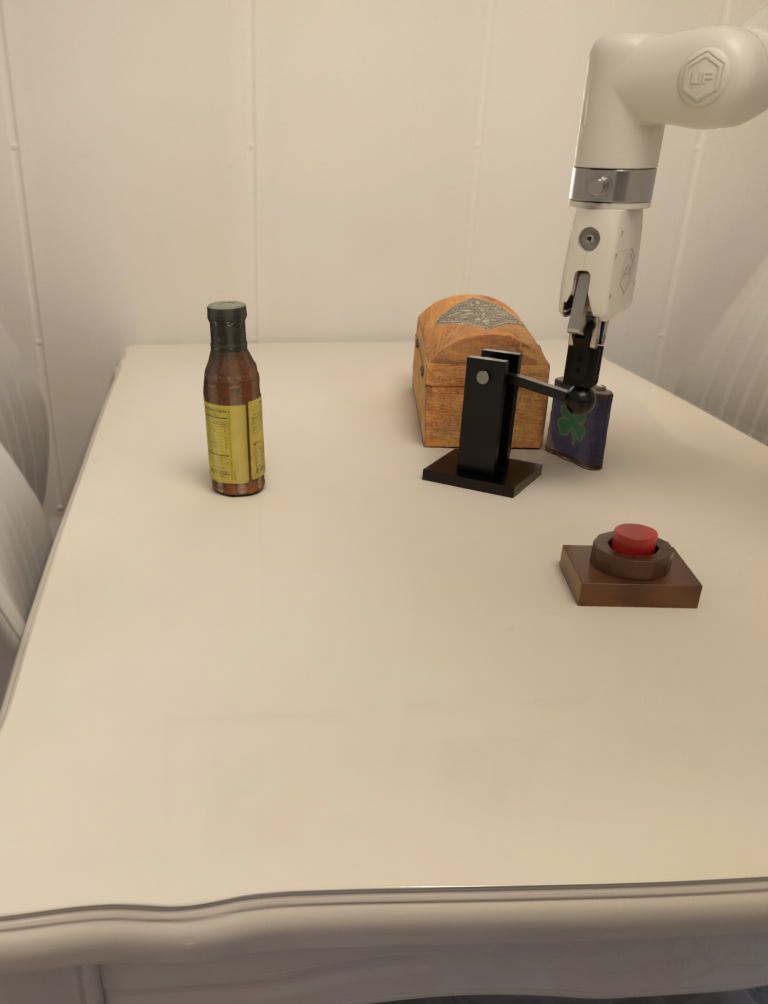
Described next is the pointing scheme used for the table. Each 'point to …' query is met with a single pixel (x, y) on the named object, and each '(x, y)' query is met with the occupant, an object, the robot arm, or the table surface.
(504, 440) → the bracket
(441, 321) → the wooden box
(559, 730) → the table surface
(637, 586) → the button block
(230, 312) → the sauce bottle
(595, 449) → the flask
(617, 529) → the button
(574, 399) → the lever
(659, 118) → the robot arm
